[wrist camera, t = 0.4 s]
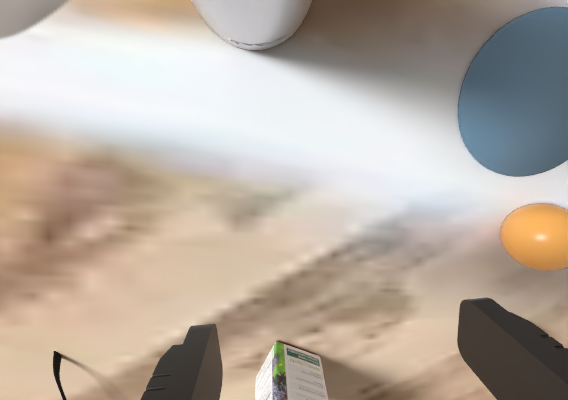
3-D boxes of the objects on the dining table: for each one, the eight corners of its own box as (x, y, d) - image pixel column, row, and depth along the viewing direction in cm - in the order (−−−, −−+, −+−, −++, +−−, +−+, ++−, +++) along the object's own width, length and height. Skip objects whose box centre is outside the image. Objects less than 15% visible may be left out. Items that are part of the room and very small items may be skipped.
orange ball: (489, 198, 28) (545, 220, 23) (549, 193, 29) (620, 213, 23) (481, 254, 30) (532, 287, 24) (538, 248, 30) (601, 280, 25)
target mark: (467, 13, 24) (468, 12, 23) (633, 2, 24) (636, 1, 24) (451, 182, 28) (452, 182, 28) (593, 169, 28) (595, 169, 28)
